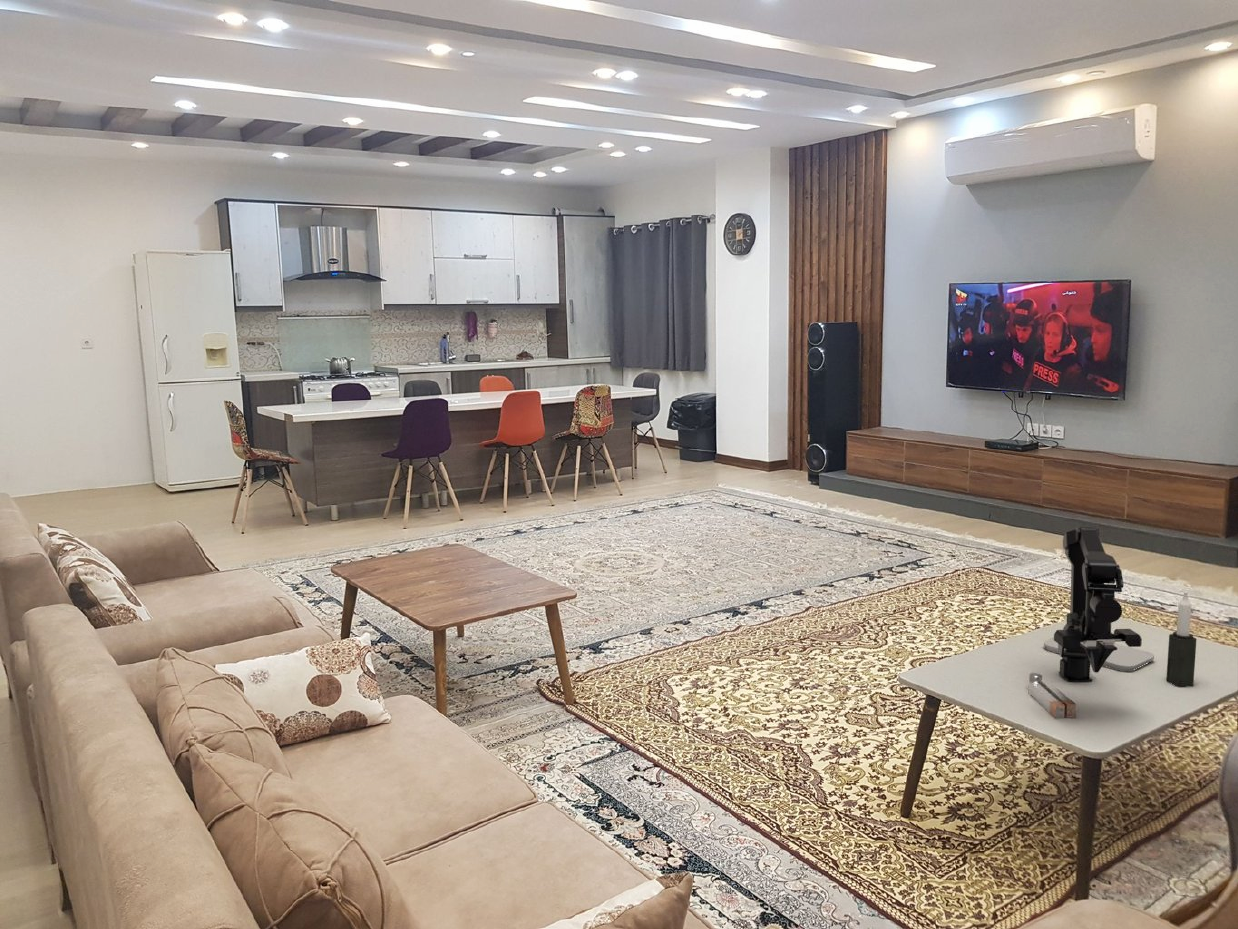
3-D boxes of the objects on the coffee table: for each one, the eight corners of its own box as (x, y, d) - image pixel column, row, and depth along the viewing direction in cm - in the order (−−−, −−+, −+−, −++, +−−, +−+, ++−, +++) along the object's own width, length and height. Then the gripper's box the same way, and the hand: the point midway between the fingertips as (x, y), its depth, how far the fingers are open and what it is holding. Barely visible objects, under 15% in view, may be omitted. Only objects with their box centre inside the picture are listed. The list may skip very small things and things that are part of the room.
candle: (1164, 680, 252) (1170, 589, 248) (1182, 679, 252) (1188, 588, 249) (1176, 687, 247) (1183, 594, 243) (1195, 686, 247) (1201, 593, 244)
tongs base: (1022, 687, 249) (1023, 673, 249) (1038, 687, 249) (1039, 672, 249) (1054, 718, 230) (1055, 702, 229) (1071, 718, 230) (1072, 702, 229)
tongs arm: (1039, 692, 246) (1040, 680, 245) (1048, 691, 246) (1048, 680, 245) (1066, 717, 230) (1067, 705, 229) (1076, 717, 230) (1076, 704, 229)
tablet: (1128, 676, 257) (1129, 668, 256) (1039, 650, 278) (1039, 643, 277) (1158, 662, 266) (1158, 654, 266) (1069, 638, 287) (1069, 631, 287)
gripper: (1121, 599, 236) (1117, 659, 239) (1045, 601, 237) (1042, 661, 239) (1144, 613, 225) (1140, 676, 228) (1065, 614, 226) (1062, 677, 228)
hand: (1095, 672), depth 231 cm, fingers closed
